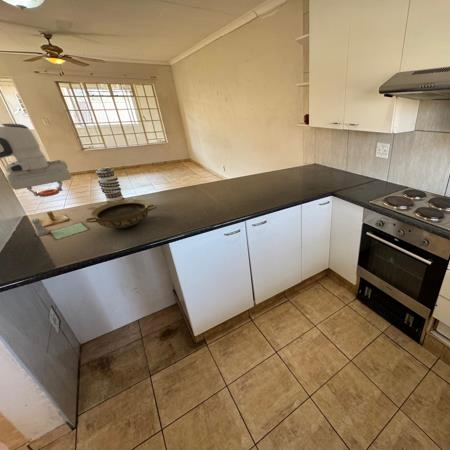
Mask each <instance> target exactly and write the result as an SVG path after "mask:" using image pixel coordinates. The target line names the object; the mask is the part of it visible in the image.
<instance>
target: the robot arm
mask: <svg viewBox="0 0 450 450" xmlns="http://www.w3.org/2000/svg"><path fill="white" fill-rule="evenodd" d="M9 157H14V158H15V160H16V161H13V162H11V163H8V164H6V165H5V166H4V169H5V171H6V179H7V182H8V184H9V186H10V188H11V189H12V190H15V191H17V190H22V189H23V190H24V189H26V190H28V191H29V192H31V193H32V194H33V195H34V197H40V195H39V191H38V190H37V191H34V190H33V187H38V186H44V185H48V184H53V183H57V184H58V186H56V187H55V189H58V191H59V192H63V190H64V189H63V188H62V187H63V181H69V180H71V179H72V178H73V176H72V175H71V173H70V171H69V169H68V165H67V162H66V161H64V160H61V159H56V160H49V161H48V160H47V158H46V156H45V154H44V153H43V152H42V150H41V148H40V144H39V142H38V140H37V138H36V136H35V133H33V131H32V130H31V129H30V127H28V126H27V125H24V124H21V123H3V124H0V159H4V158H9Z"/></svg>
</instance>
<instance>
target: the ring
mask: <svg viewBox="0 0 450 450" xmlns="http://www.w3.org/2000/svg"><path fill="white" fill-rule="evenodd" d="M38 193H39V195H40V196H39V197H41V198H47V197H52V196H56V195H59V194H60V191H58V189H57V188H50V189H45V190H41V191H38Z"/></svg>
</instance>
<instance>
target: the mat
mask: <svg viewBox="0 0 450 450" xmlns="http://www.w3.org/2000/svg"><path fill="white" fill-rule="evenodd" d="M88 230H89V229H88V228H87V227H86V226H85V225H83V223H81V222H79V223H74V224H71V225H68V226H65V227H62V228H58V229H55V230H52V231H50V234H51V235H52V236H53V237H54V238H55V239H56V240H60V239H63V238H66V237H70V236H72V235H77V234H80V233H83V232H86V231H88Z"/></svg>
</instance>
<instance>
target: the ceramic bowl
mask: <svg viewBox="0 0 450 450" xmlns="http://www.w3.org/2000/svg"><path fill="white" fill-rule="evenodd" d="M156 208H157V205H156V204H150V203H149V201H147V200H145V199H139V198H135V199H134V198H131V199H124V200H120V201H115V202H111V203H108V204H107V203H105V204H102V205H100V206H98V207H96V208H95V209H94V210H92V211H91V213H90V215H91V217H88V218H85V219H84V222H85V223H97V224H99V225H100V226H101V227H103V228H111V229H128V228H131V227H134V226H135V225H136V224H138V223H140V222H142V221H144V220H145V219H146V218H147V216H148V215H149V212H150V211H153V210H154V209H155V210H156Z"/></svg>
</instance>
